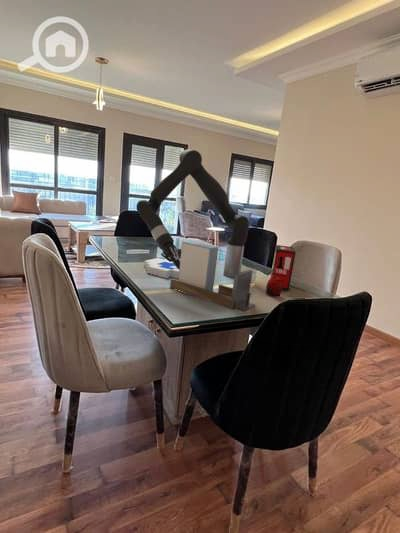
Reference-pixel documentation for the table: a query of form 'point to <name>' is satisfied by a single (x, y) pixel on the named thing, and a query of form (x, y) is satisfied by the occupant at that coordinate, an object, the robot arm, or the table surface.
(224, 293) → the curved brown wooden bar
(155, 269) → the stepped white slab
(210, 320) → the table surface
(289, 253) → the cleaning product box
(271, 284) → the red clay folk toy
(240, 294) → the bookend
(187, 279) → the book
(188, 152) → the robot arm
